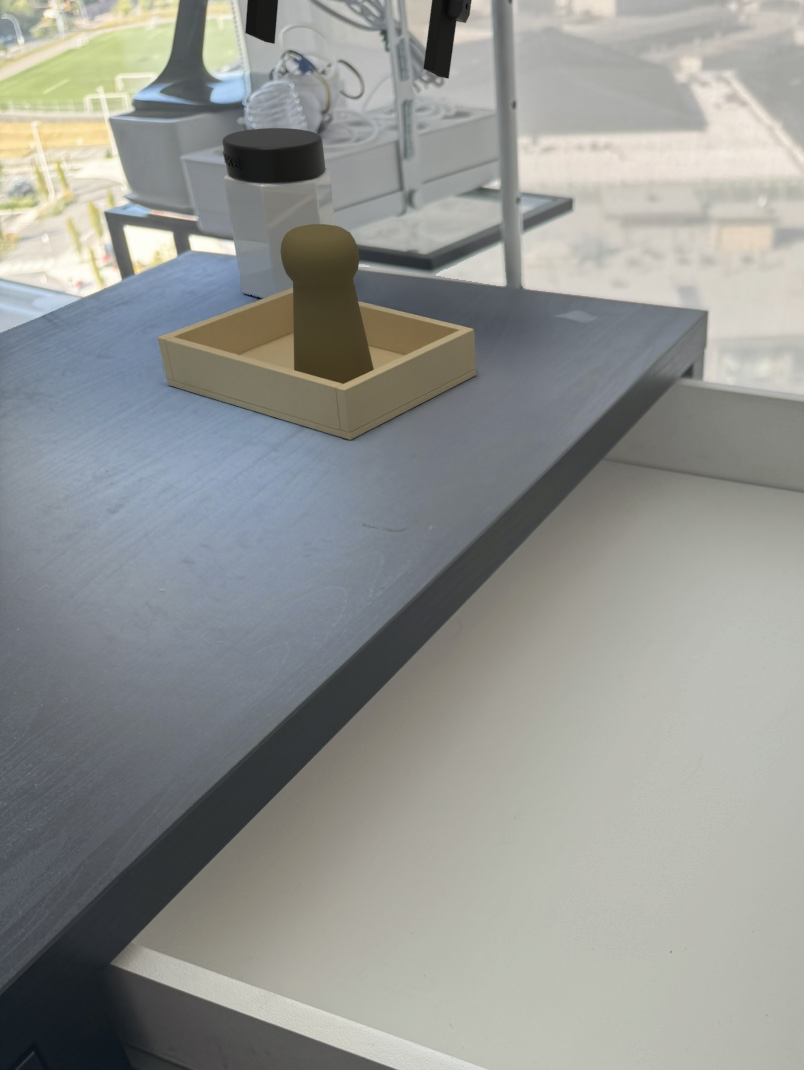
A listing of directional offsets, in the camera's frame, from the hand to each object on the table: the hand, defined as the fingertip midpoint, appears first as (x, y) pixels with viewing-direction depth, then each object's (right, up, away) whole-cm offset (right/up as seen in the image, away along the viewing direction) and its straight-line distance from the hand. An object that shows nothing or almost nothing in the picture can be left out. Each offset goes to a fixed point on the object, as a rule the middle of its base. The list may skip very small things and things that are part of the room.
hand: (346, 56), depth 81 cm
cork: (-1, -22, +4) cm, 23 cm away
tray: (-3, -20, +6) cm, 22 cm away
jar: (-10, -7, +23) cm, 26 cm away
